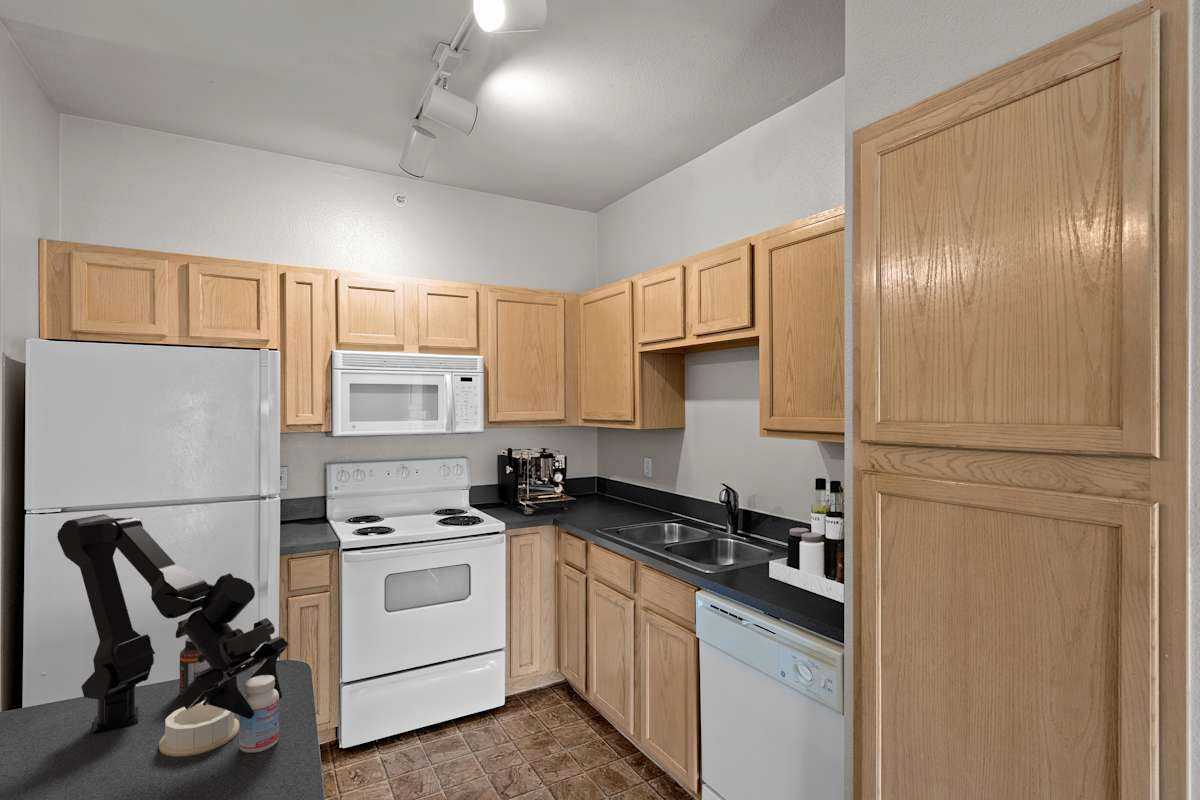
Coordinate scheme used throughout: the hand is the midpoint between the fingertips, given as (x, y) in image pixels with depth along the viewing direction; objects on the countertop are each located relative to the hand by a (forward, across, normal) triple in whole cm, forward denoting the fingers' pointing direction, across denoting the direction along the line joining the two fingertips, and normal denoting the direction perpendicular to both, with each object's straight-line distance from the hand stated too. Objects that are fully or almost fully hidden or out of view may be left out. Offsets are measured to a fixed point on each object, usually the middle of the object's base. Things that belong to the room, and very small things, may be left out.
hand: (266, 707), depth 106 cm
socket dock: (-5, -1, +14) cm, 15 cm away
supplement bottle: (-16, +13, +26) cm, 33 cm away
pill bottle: (+4, 0, +6) cm, 7 cm away
